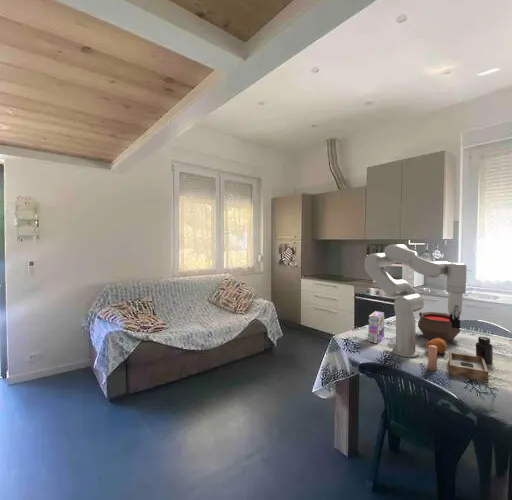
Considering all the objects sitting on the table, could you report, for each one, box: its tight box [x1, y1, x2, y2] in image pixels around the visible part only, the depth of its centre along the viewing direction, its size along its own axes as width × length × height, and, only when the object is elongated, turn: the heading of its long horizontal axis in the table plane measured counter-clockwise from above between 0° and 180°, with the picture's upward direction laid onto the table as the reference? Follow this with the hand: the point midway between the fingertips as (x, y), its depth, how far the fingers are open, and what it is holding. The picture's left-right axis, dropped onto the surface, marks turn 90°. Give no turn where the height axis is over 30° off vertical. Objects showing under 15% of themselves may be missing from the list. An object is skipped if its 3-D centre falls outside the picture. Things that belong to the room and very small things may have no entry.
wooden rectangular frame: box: [448, 351, 489, 382], centre depth 143 cm, size 14×18×4 cm
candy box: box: [367, 310, 385, 344], centre depth 186 cm, size 14×6×16 cm, turn 143°
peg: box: [427, 345, 438, 372], centre depth 145 cm, size 4×4×11 cm
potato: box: [425, 338, 448, 354], centre depth 165 cm, size 9×11×8 cm
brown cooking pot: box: [417, 311, 461, 343], centre depth 187 cm, size 24×24×16 cm
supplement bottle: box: [475, 336, 494, 365], centre depth 152 cm, size 7×7×12 cm
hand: (454, 325), depth 143 cm, fingers open, 9 cm apart
